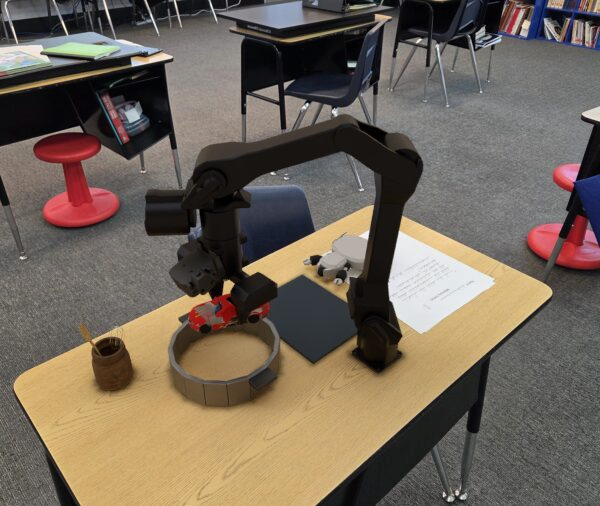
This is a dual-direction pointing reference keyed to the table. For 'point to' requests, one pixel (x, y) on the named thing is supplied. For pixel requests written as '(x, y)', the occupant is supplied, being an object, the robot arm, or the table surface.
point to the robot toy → (340, 258)
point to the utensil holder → (110, 361)
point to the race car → (221, 315)
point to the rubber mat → (310, 318)
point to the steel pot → (230, 389)
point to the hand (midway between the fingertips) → (229, 313)
